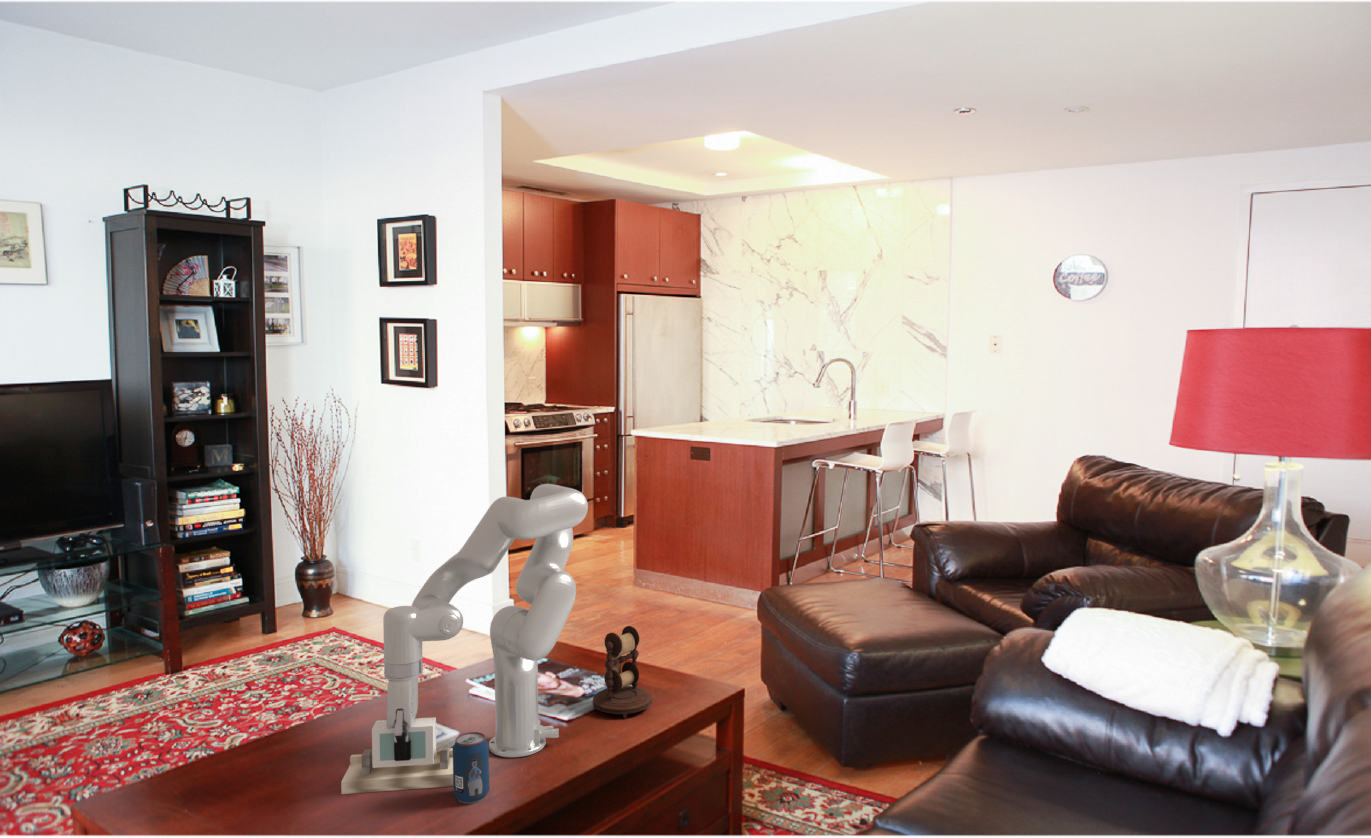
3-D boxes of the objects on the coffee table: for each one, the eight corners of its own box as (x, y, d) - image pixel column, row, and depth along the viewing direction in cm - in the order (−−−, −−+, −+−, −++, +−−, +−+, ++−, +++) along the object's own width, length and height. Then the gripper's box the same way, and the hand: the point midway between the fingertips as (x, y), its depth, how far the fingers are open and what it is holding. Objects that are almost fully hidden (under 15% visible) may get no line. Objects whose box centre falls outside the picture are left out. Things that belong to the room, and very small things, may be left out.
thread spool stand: (619, 692, 229) (618, 617, 228) (663, 705, 221) (663, 627, 219) (580, 710, 217) (579, 631, 216) (626, 725, 209) (625, 642, 207)
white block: (436, 754, 184) (435, 717, 184) (433, 764, 180) (432, 726, 179) (377, 758, 182) (376, 720, 182) (372, 767, 178) (371, 729, 178)
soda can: (471, 785, 179) (470, 728, 179) (496, 793, 176) (495, 735, 175) (446, 799, 173) (444, 740, 173) (472, 808, 170) (470, 748, 169)
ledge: (468, 765, 188) (467, 735, 188) (464, 785, 179) (463, 754, 179) (351, 773, 185) (350, 743, 184) (341, 794, 176) (340, 762, 175)
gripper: (392, 655, 188) (393, 738, 189) (376, 683, 171) (377, 774, 172) (428, 653, 189) (429, 736, 190) (415, 681, 172) (417, 772, 173)
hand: (404, 753), depth 181 cm, fingers closed on white block, 4 cm apart
